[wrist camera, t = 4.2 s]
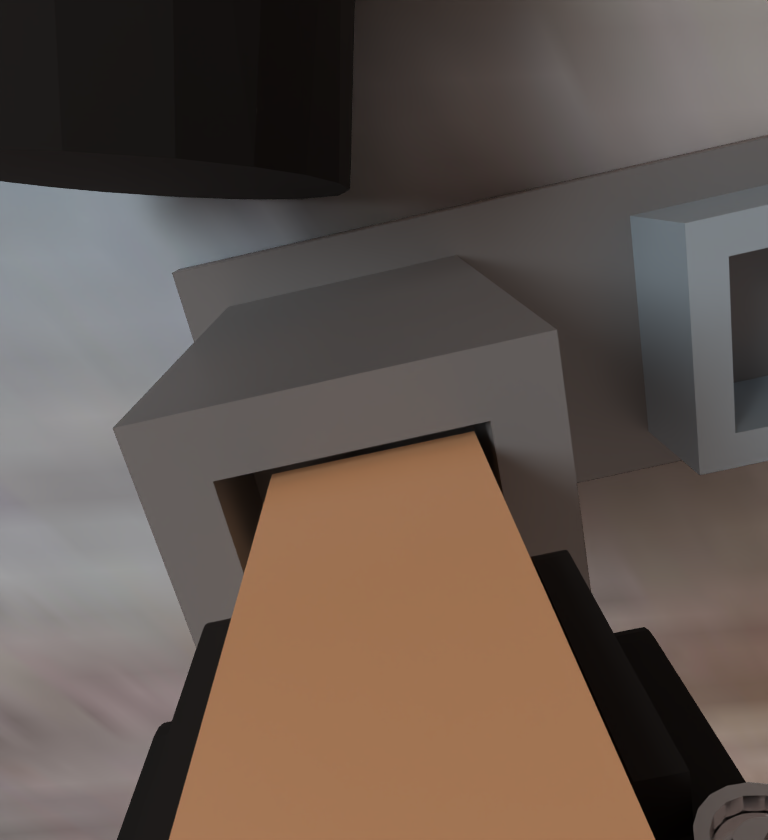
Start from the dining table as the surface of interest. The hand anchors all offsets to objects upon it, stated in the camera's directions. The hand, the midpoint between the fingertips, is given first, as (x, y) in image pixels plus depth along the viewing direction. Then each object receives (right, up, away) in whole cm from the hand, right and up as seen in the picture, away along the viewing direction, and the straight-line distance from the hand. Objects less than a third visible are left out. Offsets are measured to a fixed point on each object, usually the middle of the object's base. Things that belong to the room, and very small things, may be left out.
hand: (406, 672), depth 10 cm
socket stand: (+6, +7, +15) cm, 18 cm away
